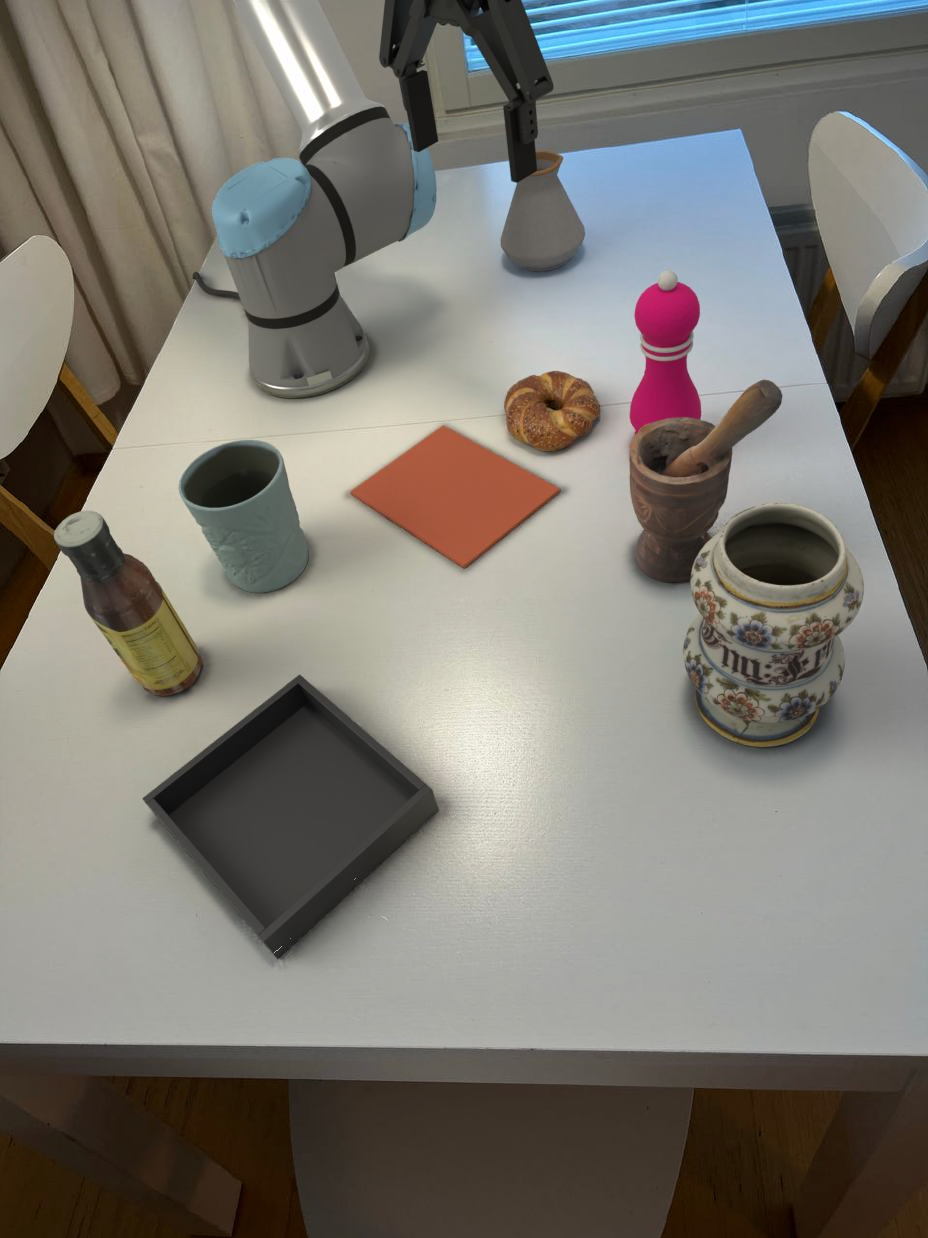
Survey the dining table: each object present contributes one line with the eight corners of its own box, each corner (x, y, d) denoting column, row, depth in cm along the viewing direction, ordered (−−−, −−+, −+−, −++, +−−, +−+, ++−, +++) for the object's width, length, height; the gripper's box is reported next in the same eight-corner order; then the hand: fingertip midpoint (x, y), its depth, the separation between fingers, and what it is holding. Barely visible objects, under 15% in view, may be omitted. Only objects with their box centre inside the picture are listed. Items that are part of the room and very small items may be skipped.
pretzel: (596, 456, 100) (594, 428, 97) (496, 456, 103) (491, 429, 100) (604, 387, 108) (603, 360, 105) (511, 389, 110) (507, 362, 107)
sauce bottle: (145, 653, 91) (48, 501, 76) (208, 643, 91) (122, 488, 76) (135, 708, 87) (30, 558, 72) (201, 697, 86) (109, 545, 71)
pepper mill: (698, 468, 97) (707, 292, 82) (627, 467, 98) (623, 294, 83) (700, 424, 101) (710, 249, 86) (633, 423, 103) (630, 252, 88)
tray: (157, 818, 78) (141, 798, 76) (309, 696, 85) (299, 673, 82) (277, 959, 69) (263, 941, 66) (439, 810, 75) (432, 789, 73)
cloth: (350, 494, 102) (349, 491, 102) (443, 427, 107) (443, 425, 107) (464, 568, 92) (463, 565, 92) (560, 491, 97) (560, 488, 97)
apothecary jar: (863, 730, 74) (912, 575, 61) (722, 779, 73) (740, 632, 60) (785, 623, 82) (813, 464, 69) (657, 666, 81) (660, 513, 68)
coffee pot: (594, 268, 125) (589, 153, 114) (510, 285, 125) (496, 173, 114) (562, 198, 139) (555, 89, 128) (486, 214, 139) (472, 107, 128)
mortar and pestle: (741, 513, 92) (760, 334, 77) (767, 577, 86) (792, 397, 71) (623, 532, 92) (619, 358, 77) (640, 596, 87) (639, 422, 72)
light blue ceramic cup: (238, 612, 93) (194, 524, 84) (208, 553, 99) (165, 465, 90) (331, 569, 95) (298, 479, 86) (296, 513, 101) (262, 424, 92)
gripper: (305, -107, 80) (362, 149, 96) (516, -87, 66) (541, 208, 82) (372, -133, 82) (416, 120, 98) (587, -119, 69) (598, 172, 85)
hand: (473, 160), depth 90 cm, fingers open, 13 cm apart
